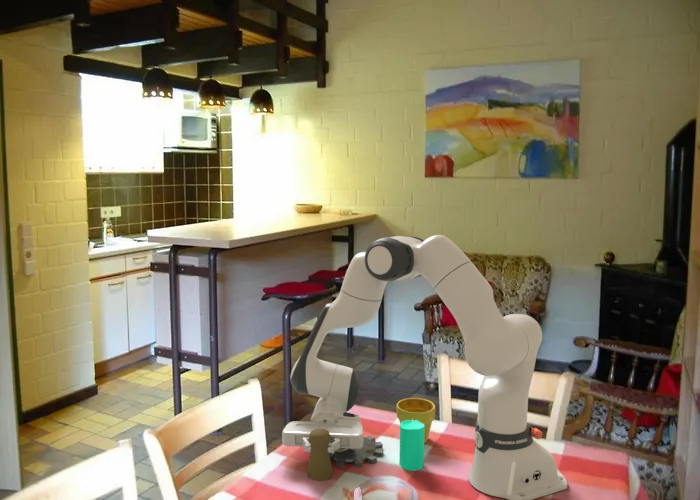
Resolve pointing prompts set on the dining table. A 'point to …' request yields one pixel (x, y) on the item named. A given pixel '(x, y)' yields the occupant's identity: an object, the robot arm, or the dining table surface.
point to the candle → (411, 445)
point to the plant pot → (417, 412)
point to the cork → (319, 455)
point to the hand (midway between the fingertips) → (319, 450)
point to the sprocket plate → (358, 453)
